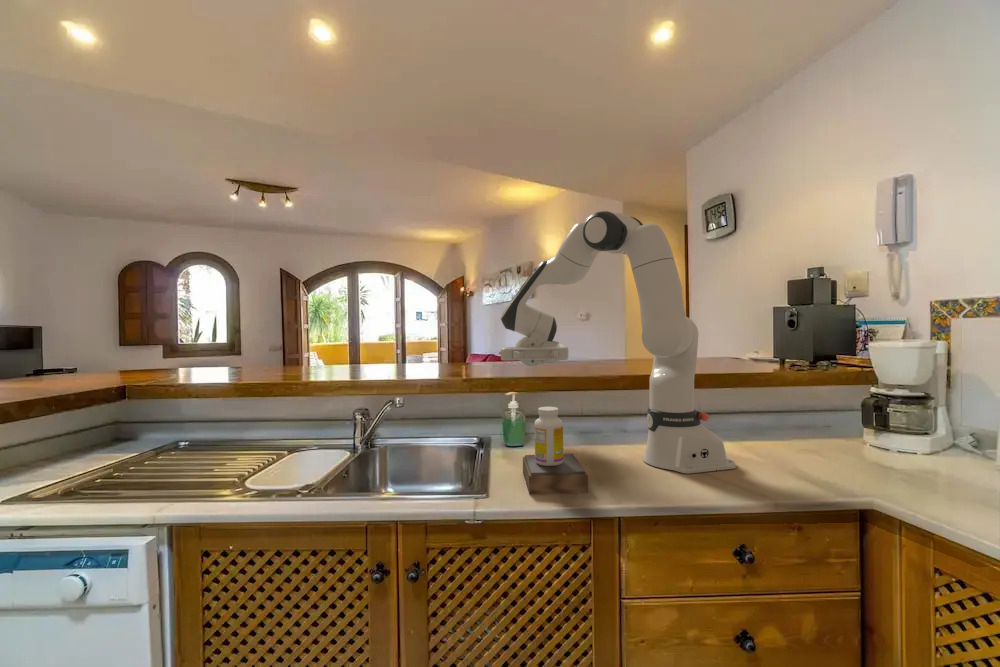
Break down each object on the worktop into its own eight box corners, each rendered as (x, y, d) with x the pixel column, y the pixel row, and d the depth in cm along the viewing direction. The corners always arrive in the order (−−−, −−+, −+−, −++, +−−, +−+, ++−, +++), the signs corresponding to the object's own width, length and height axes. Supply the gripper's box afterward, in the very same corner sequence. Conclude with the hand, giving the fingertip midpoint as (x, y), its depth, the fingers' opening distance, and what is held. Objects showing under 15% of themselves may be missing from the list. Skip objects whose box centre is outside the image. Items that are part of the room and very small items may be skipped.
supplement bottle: (562, 458, 109) (562, 405, 109) (564, 467, 102) (563, 411, 102) (535, 458, 110) (534, 405, 109) (534, 467, 103) (533, 411, 103)
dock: (574, 471, 114) (574, 453, 113) (588, 492, 100) (587, 472, 99) (522, 472, 113) (522, 454, 113) (529, 494, 99) (529, 473, 99)
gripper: (498, 342, 142) (500, 344, 128) (563, 341, 143) (572, 343, 129) (498, 362, 142) (500, 367, 128) (563, 361, 143) (572, 365, 129)
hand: (537, 355), depth 128 cm, fingers open, 8 cm apart
